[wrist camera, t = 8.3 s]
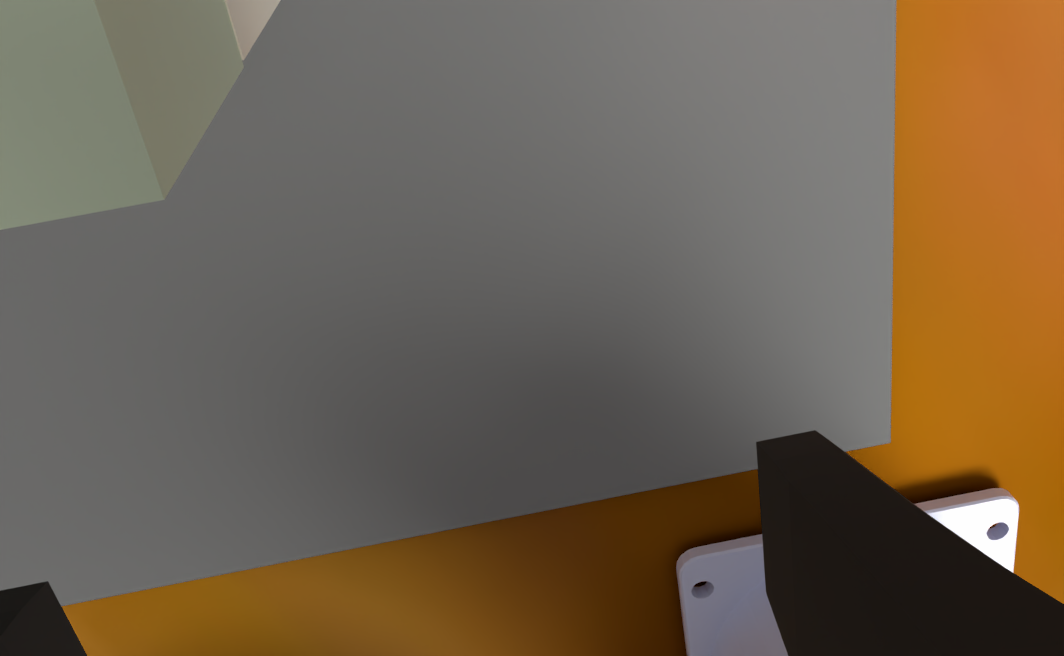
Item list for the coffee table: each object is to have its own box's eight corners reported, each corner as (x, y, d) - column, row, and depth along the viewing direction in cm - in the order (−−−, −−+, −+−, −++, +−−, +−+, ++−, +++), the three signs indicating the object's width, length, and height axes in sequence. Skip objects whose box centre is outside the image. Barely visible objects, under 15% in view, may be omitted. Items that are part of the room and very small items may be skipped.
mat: (883, 432, 23) (890, 442, 22) (-96, 625, 22) (-105, 638, 22) (893, -839, 13) (907, -857, 13) (-834, -537, 13) (-868, -545, 12)
